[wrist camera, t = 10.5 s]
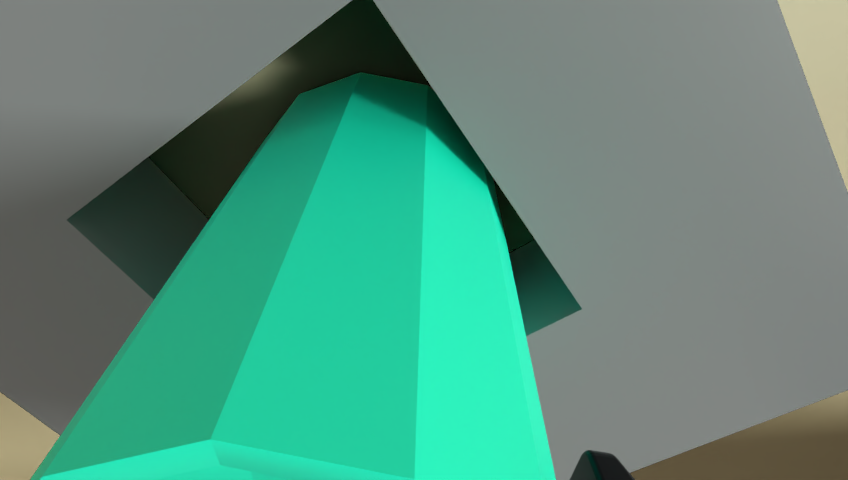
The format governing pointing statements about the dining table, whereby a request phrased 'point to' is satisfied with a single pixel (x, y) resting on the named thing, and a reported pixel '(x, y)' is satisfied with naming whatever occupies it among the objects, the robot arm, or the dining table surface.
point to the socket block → (509, 166)
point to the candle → (330, 318)
